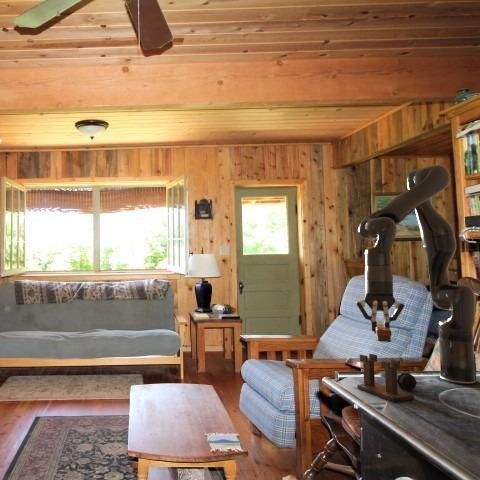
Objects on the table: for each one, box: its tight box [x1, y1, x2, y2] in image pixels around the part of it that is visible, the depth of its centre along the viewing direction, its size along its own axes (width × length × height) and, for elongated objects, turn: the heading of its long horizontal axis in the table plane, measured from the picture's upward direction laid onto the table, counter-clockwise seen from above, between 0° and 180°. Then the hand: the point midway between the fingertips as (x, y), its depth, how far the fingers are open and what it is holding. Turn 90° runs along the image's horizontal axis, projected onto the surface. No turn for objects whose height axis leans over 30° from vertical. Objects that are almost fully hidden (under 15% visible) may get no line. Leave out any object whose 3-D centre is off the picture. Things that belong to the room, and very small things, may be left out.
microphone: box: [380, 371, 418, 392], centre depth 139 cm, size 6×6×20 cm
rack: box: [356, 353, 415, 403], centre depth 130 cm, size 13×8×11 cm, turn 16°
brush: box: [375, 320, 392, 343], centre depth 130 cm, size 20×4×3 cm, turn 152°
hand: (380, 333), depth 131 cm, fingers closed on brush, 2 cm apart
